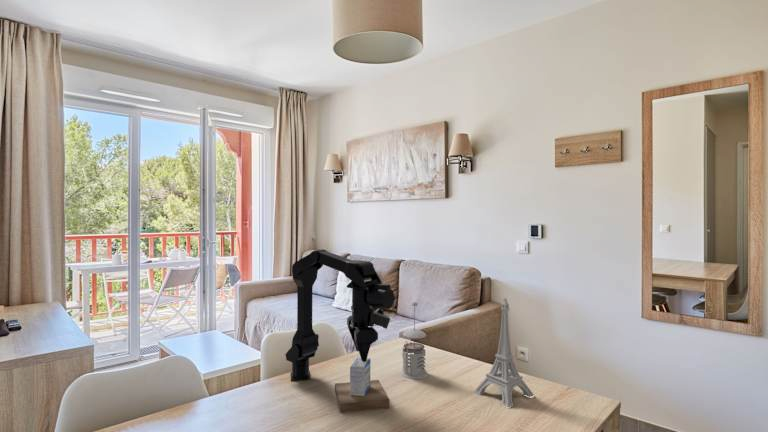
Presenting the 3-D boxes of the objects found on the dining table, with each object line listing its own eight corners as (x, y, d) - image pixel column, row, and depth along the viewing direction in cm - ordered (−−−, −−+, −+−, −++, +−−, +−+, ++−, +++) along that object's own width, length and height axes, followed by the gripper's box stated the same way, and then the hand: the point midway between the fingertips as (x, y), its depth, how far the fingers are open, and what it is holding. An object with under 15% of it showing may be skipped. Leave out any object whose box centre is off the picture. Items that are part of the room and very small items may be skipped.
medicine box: (364, 397, 119) (364, 367, 119) (349, 395, 120) (349, 366, 120) (370, 386, 127) (370, 358, 127) (356, 384, 128) (356, 356, 128)
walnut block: (334, 391, 128) (334, 383, 128) (378, 387, 132) (378, 379, 132) (340, 412, 115) (340, 403, 115) (389, 407, 118) (389, 399, 118)
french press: (432, 372, 145) (433, 301, 145) (417, 383, 135) (418, 307, 135) (408, 366, 150) (409, 298, 150) (391, 377, 140) (392, 303, 140)
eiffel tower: (500, 382, 137) (501, 292, 137) (535, 397, 126) (536, 299, 126) (472, 392, 129) (473, 297, 129) (508, 409, 118) (509, 304, 118)
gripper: (395, 309, 116) (395, 365, 116) (380, 296, 134) (380, 344, 134) (356, 311, 113) (356, 368, 113) (346, 298, 132) (346, 346, 132)
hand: (361, 356), depth 123 cm, fingers open, 9 cm apart
